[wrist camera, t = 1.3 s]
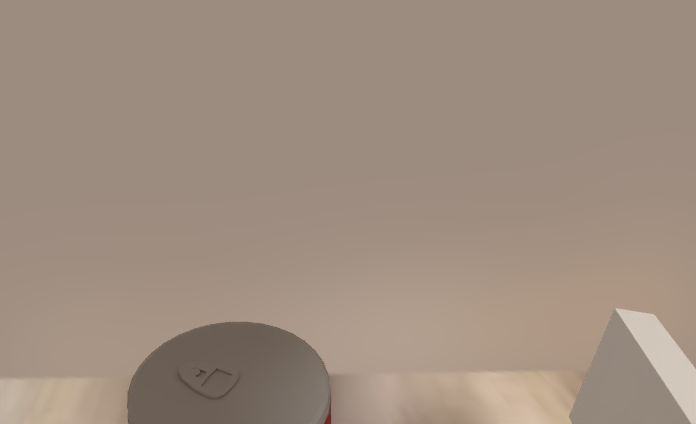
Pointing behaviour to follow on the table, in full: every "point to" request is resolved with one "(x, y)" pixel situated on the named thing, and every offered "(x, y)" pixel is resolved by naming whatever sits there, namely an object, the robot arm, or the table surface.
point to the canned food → (231, 379)
